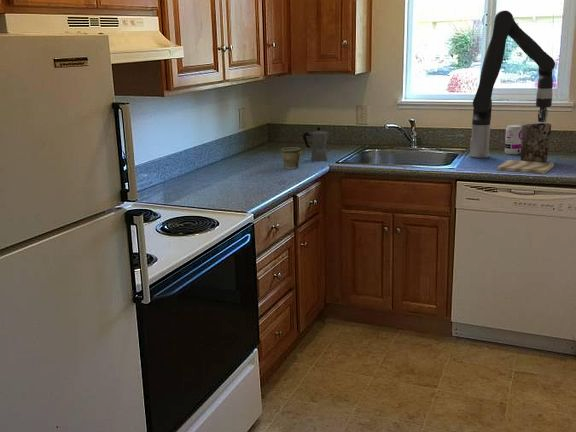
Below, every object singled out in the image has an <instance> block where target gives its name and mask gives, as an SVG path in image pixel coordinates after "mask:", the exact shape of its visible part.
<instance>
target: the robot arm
mask: <svg viewBox="0 0 576 432" xmlns="http://www.w3.org/2000/svg"><path fill="white" fill-rule="evenodd" d="M508 36H509V38H510V39H512V41H514V42H515V43H516V45H517V46H518V48H519V49H521V50H522V51H523V53H525V55H526V56H527V57H528V58H530V59H531V60H532V61H533V62H534V63H535V64H536V65H537V66H538V81H537V89H536V98H535V106H536V107H537V108H539V110H538V113H537V118H538V119H537V120H538V122H546V123H547V118H548V114H549V110H548V108H551V107H552V102H553V84H554V79H553V71H554V68H555V65H556V62H555V59H553V57H552V56H550V55H549V54H548V53H547V52H546V51H545V50H543V48H542V47H541V46H540V44H538V42H537V41H536V40H534V39H533V38H532V37H531V36H530V35H529V34H527V33H526V32H525V31H524V30H523V29H522V28H521V27H520V26H519V25H518V23H517V22H516V21H515V19H514V16H513V14H512V13H511V12H510V11H509V10H500V11H498V12H497V13H496V14H495V15H494V16H493V28H492V35H491V38H490V41H489V43H488V46H487V48H486V51H485V54H484V58H483V62H482V67H481V71H480V77H479V83H478V86H477V87H478V88H477V89H476V92H475V96H474V97H473V100H472V107H473V114H472V119H471V121H472V124H471V138H470V139H469V157H471V158H489V155H490V154H489V151H490V137H491V136H490V135H491V134H490V133H491V120H492V106H493V105H492V104H493V102H492V101H493V100H492V95H493V89H494V88H495V87H494V86H495V83H496V81H497V79H498V77H499V74H500V71H501V68H502V64H503V61H504V56H505V50H506V44H507V38H508Z"/></svg>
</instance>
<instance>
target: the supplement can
mask: <svg viewBox="0 0 576 432" xmlns="http://www.w3.org/2000/svg"><path fill="white" fill-rule="evenodd" d="M521 138H522V125H518V124H509V125H507V126H506V128H505V140H504V141H505V142H504V152H505V154H507V155H520V154H521V142H522V141H521Z"/></svg>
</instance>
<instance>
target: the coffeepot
mask: <svg viewBox="0 0 576 432" xmlns="http://www.w3.org/2000/svg"><path fill="white" fill-rule="evenodd" d="M330 135H331V132H330V131H329V132H328V131H324V130H321V127H319V126H318V127H317V130H315V131H312V132H311V131H309V132H304V134H303V135H302V138H303V141H304V144H305V146H306V148H311V146H312V150H311V157H310V161H311V160H312V161H311V162H314V161H323V162H326V160H327V161H328V154H327V148H326V145H327V140H328V138H329V136H330ZM307 137H310V140H311V145H309V142H308V139H307Z"/></svg>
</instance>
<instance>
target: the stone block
mask: <svg viewBox="0 0 576 432" xmlns="http://www.w3.org/2000/svg"><path fill="white" fill-rule="evenodd" d="M521 127H522V138H521V152H520V161H531V162H547V161H548V157H549V156H548V155H549V147H550V146H549V145H550V138H551V133H552V132H551V131H552V123H549V122H547V121H546V122H537V121H535V122H525V123H523V124H522V125H521Z"/></svg>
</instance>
